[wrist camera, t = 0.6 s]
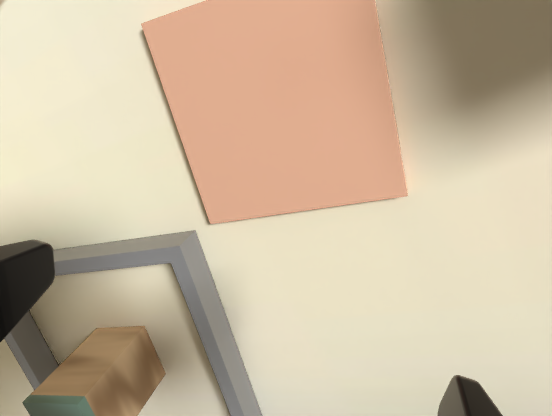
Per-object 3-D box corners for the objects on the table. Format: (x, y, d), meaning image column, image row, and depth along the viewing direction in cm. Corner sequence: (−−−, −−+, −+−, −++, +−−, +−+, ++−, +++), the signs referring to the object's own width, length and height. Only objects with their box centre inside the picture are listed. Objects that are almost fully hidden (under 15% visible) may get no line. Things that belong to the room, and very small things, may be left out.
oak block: (165, 373, 32) (107, 459, 26) (118, 373, 33) (53, 454, 27) (144, 325, 30) (77, 404, 24) (96, 328, 32) (22, 402, 26)
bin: (272, 445, 31) (264, 470, 30) (86, 433, 38) (71, 453, 36) (195, 230, 26) (179, 245, 24) (-10, 258, 32) (-34, 272, 30)
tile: (407, 191, 21) (407, 196, 20) (214, 219, 25) (210, 224, 24) (366, -54, 17) (364, -57, 17) (147, 23, 21) (141, 23, 21)
